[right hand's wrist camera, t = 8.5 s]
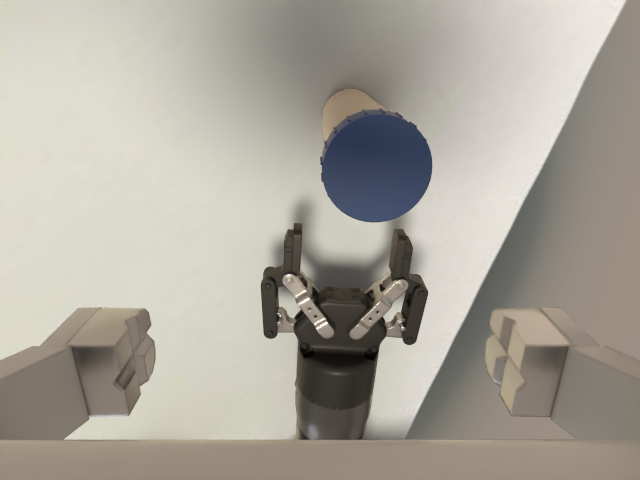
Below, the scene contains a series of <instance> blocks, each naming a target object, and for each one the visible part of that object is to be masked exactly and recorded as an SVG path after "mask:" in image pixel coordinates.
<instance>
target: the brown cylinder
mask: <svg viewBox="0 0 640 480" xmlns="http://www.w3.org/2000/svg"><path fill="white" fill-rule="evenodd" d="M379 108H382V109H383V110H385V109H384V108H383V107H382V106H380V105H379V104H378V103H377V102H375V101H374V100H373V99H372V98H371V97H369V96H368V95H367V94H366V93H364V92H362V91H360V90H357V89H343V90H340V91H338V92H336V93H335V94H333V95H332V96H331V97H330V98H329V99H328V100H327V102H326V103H325V105H324V108H323V111H322V128H323V139H324V142H325V141H327V139H328V137H329V135H330V134H331V132H332V131H333V127H334V126H335V127H336V126H337V125H338V124H339V123H340V122H342V121H343V120H344V119H346V118H347V117H346V116H351V115H353V114H355V113H358V112H361V111H362V109H365V110H374V109H378V110H379ZM385 111H387V110H385ZM324 146H325V145H324Z"/></svg>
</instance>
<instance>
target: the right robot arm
mask: <svg viewBox="0 0 640 480" xmlns="http://www.w3.org/2000/svg"><path fill="white" fill-rule="evenodd" d="M150 326H151V321H150V316H149V312H148V311H147V310H146V309H145V308H101V307H93V308H78V309H77V310H76V311H75V312H74V313H73V314H72V315H71V316H70V317H69V318H68V319H67V320H66V321H65V322H64V323H63V324H62V325H61V326H60V327H59V328H58V329H57V330H56V331H55V332H54V333H53V334H52V335H51V336H49V337H48V338H47V339H46V340H45V341H44V342H43V343H42V344H41V345H40V346H32V347H30V348H28V349H25V350H23V351H21V352H18V353H16V354H14V355H12V356H9V357H7V358H5V359H2V360H0V480H640V360H638V359H635V358H633V357H631V356H628V355H626V354H624V353H622V352H619V351H617V350H615V349H612V348H610V347H608V346H600V345H599V344H598V343H597V342H596V341H595V340H594V339H593V338H592V337H591V336H590V335H589V334H588V333H587V332H586V331H585V330H583V328H582V327H581V326H580V325H578V323H576V322H575V321H574V320H573V319H572V318H571V317H570V316H569V315H568V314H567V313H566V312H565V311H564V310H563V309H561V308H558V307H550V308H514V309H493V311H492V313H491V315H490V320H489V326H490V328H491V329H492V331H493V332H494V333H493V334H492V335H491V336H490V337H489V338H488V339H487V340H486V345H485V352H484V355H485V365H486V369H487V372H488V374H489V376H490V378H491V380H492V381H493V382H494V383H496V384H498V385H499V386H501V388H500V393H499V395H500V397H501V398H502V400H503V402H504V404H505V406H506V408H507V409H508V411H509V413H510V415H511V416H523V417H551V420H553V421H554V422H555V423H556V424H558V425H559V426H560V427H562V428H563V429H564V430H565V431H567V432H568V433H569V434H571V435H572V436H573V437H575V438H576V439H577V440H63V439H64V438H66V437H67V436H68V435H70V434H71V433H72V432H73V431H75V430H76V429H77V428H79V427H80V426H81V425H82V424H84V423H85V422H86V421H88V420H89V417H116V416H129V415H130V413H131V411H132V409H133V408H134V406H135V404H136V402H137V400H138V399H139V397H140V395H141V393H140V388H139V386H141V385H142V384H144V383H146V382H147V381H148V380H149V378H150V376H151V374H152V372H153V368H154V364H155V344H154V340H153V339H152V338H151V337H150V336H149V335H148V334H147V331H148V329H149V328H150Z"/></svg>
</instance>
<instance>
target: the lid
mask: <svg viewBox="0 0 640 480" xmlns="http://www.w3.org/2000/svg"><path fill="white" fill-rule="evenodd" d="M346 117H347V118H346V119H344V120H343V121H342V122H340V123H339V124H338V125H337V126H336V127H335V126H334V127H333V131H332V132H331V134H330V135H329V137H328V139H327V141H325V142H324V145H325V146H324V149H323V153H322V157H320V162H321V165H322V173H321V178H322V182H323V183H324V186H325V189H326V192H327V194H328V197H329V198H330V199H331V201H332V202H333V203H334V204H335V206H336V207H337V208H338V209H340V210H341V211H342V212H343V213H345V214H346V215H348V216H350V217H352V218H354V219H357V220H360V221H365V222H383V221H388V220H392V219H395V218H397V217H399V216H401V215H403V214H405V213H406V212H408V211H409V210H410V209H412V208H413V207H414V206H415V205H416V204H417V203H418V202H419V200H420V199H421V198H422V196H423V195H424V193H425V191H426V189H427V187H428V185H429V182H430V179H431V174H432V157H431V152H430V149H429V146H428V144H427V142H426V141H427V140H426V139H425V138H424V137H423V135H422V134H421V133H420V132H419V131H418V129H417V128H416V127H417V126H416V125H414V124H413V123H411V122H408V121H406V120H405V119H404V118H402V116H401V115H400V114H398V113H397V112H396V113H392V112H389V111H385V110H383V109H382V108H379V110H378V109H374V110H365V109H362V111H361V112H358V113H355V114H353V115H351V116H346Z"/></svg>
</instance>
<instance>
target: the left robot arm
mask: <svg viewBox="0 0 640 480" xmlns="http://www.w3.org/2000/svg"><path fill="white" fill-rule="evenodd" d="M301 242H302V224H300V223H294V230H288V231H287V233H286V235H285V241H284V263H283V264H282V265H281V266H279V267H276V268H274V267H267V268H266V269H265V270H264V274H263V280H262V283H261V296H262V312H263V328H264V335H265V337H267V338H270V339H272V338H275V337H276V336H277V333H279V332H294V333H295V335H296V336H297V338H298V357H297V377H296V382H295V386H296V411H297V426H296V440H364V435H365V427H366V422H367V419H368V416H369V413H370V408H371V402H372V395H373V388H374V381H375V374H376V366H377V359H378V352H379V346H380V344H381V342H382V340H383V339H384V338H385V337H397V338H403V342H404V343H405V344H407V345H412V344H414V343H415V342H416V340H417V336H418V332H419V328H420V324H421V320H422V316H423V312H424V308H425V304H426V300H427V296H428V290H427V288H426V286H425V284H424V282H423V280H422V278H421V276H420V275H418V274H414V275H412V274H410V273H409V269H410V263H411V256H412V250H413V247H412V244H411V241H410V239H409V237H408V236H406V234H405V232H404V230H403V229H394V233H393V240H392V247H391V255H390V262H389V267H390V271H389V272H388V273H387V274H386V275H385V276H384V277H383V278H382V279H381V280H380V281H376V282H374V283H373V284H372V285H371V286H370V287H369V288H368V289H367V290H366V291H365V292H361V291H360V289H357V288H350V289H344V290H341V289H338V288H334V287H325V290H321V291H319V290H318V289H317V287H316V286H315V285H314V283H313V282H312V281H311V280H310V279H309V278H307V277H306V276H305V275H304V273H303V272H302V271H301V269H300V262H301ZM284 285H285V286H286V288H287V289H288V290H289V291H290V293H291V294H292V295H293V296H294V298H295V300H296V302H297V304H298V306H299V307H300V308H301V310H300V312H299V313H298V314H297V315H296V316H295V318H290V317H289V316H288V314H287V311H286V310H285V309H284V308H283V307H279V298H278V287H281V286H284ZM404 292H406V293H405V298H404V302H403V306H402V311H401V313H400V312H398V313H396V315H395V316H394V318H393V320H392V321H391V322H387V323H385V320H384V318H383V317H382V316H383V315H384V314H385V313H386V312H388V311H389V310H390V308H391V307H392V304H393V302H394V301H395V300H396V299H397V298H398V297H399V296H400V295H401V294H402V293H404Z"/></svg>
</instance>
